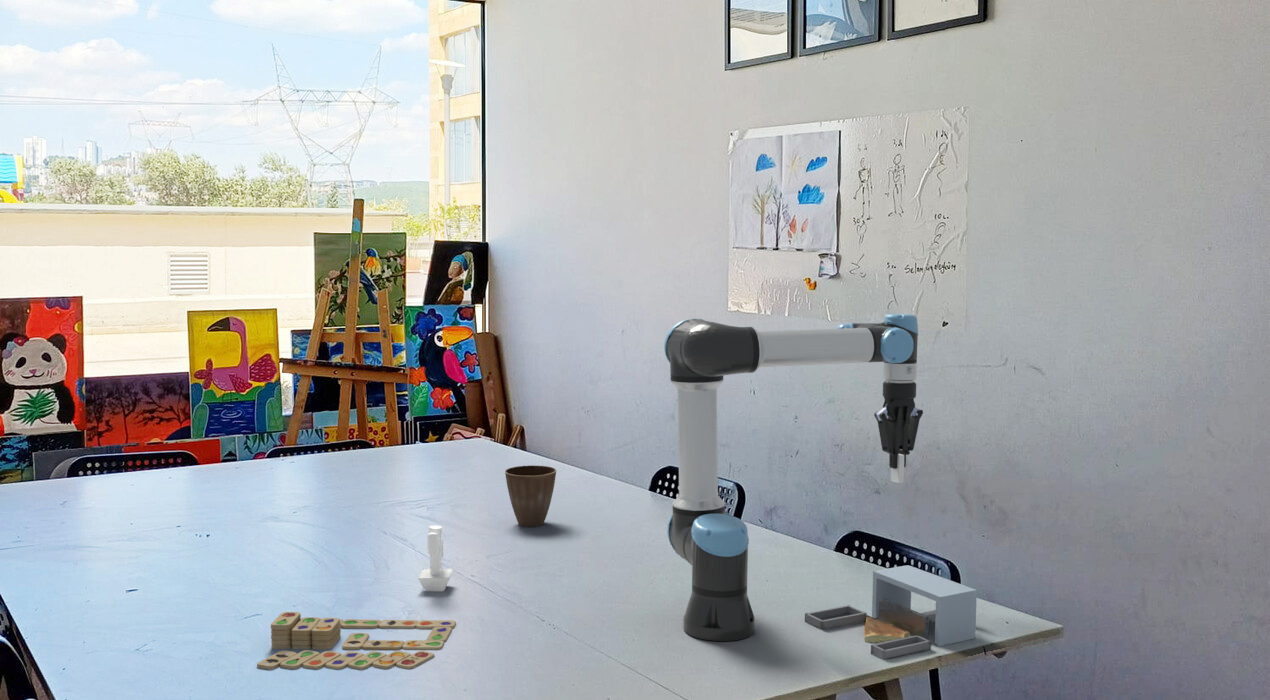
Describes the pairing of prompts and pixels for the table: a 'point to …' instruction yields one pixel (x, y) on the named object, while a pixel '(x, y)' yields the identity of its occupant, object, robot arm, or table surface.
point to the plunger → (905, 617)
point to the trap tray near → (900, 647)
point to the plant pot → (530, 493)
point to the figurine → (435, 563)
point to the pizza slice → (882, 631)
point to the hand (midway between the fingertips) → (897, 481)
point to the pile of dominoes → (349, 643)
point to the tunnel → (950, 598)
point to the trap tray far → (835, 617)
